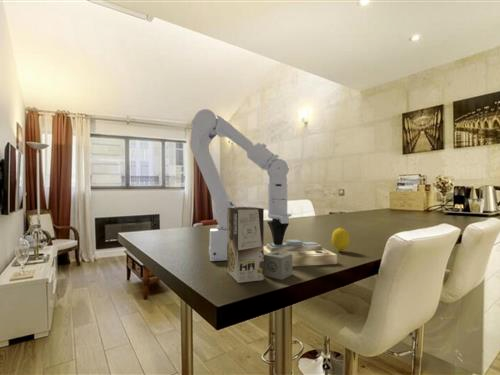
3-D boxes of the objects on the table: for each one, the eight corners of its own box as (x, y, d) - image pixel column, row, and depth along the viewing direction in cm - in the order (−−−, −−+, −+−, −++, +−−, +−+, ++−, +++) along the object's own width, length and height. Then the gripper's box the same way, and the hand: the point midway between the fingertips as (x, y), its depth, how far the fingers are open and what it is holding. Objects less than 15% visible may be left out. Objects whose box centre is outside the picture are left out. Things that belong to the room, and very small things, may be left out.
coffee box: (264, 280, 60) (264, 208, 60) (237, 283, 58) (237, 208, 58) (250, 269, 69) (250, 206, 69) (226, 271, 66) (226, 206, 67)
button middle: (290, 247, 79) (290, 242, 79) (286, 244, 83) (286, 239, 83) (301, 246, 80) (301, 241, 80) (297, 244, 83) (297, 239, 83)
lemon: (351, 253, 85) (351, 228, 86) (334, 253, 86) (334, 228, 86) (346, 249, 91) (346, 226, 91) (329, 249, 91) (329, 226, 91)
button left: (273, 250, 78) (273, 245, 78) (270, 248, 82) (270, 243, 82) (285, 250, 79) (285, 245, 79) (281, 247, 82) (281, 242, 82)
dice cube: (274, 270, 68) (274, 250, 68) (292, 274, 65) (292, 253, 65) (263, 275, 64) (263, 254, 64) (281, 280, 61) (281, 257, 61)
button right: (306, 249, 80) (306, 244, 80) (301, 247, 84) (301, 242, 84) (317, 249, 81) (317, 244, 81) (312, 246, 84) (312, 241, 84)
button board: (273, 267, 70) (273, 253, 70) (260, 254, 85) (260, 242, 85) (337, 263, 73) (336, 250, 74) (314, 251, 88) (314, 240, 88)
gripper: (299, 200, 74) (299, 249, 74) (283, 198, 88) (283, 240, 88) (274, 200, 73) (274, 250, 73) (262, 198, 87) (262, 240, 87)
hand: (278, 244), depth 80 cm, fingers closed, pressing on button left
